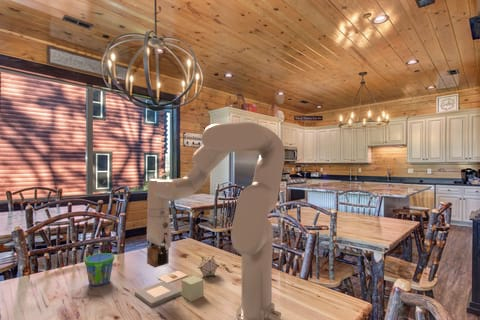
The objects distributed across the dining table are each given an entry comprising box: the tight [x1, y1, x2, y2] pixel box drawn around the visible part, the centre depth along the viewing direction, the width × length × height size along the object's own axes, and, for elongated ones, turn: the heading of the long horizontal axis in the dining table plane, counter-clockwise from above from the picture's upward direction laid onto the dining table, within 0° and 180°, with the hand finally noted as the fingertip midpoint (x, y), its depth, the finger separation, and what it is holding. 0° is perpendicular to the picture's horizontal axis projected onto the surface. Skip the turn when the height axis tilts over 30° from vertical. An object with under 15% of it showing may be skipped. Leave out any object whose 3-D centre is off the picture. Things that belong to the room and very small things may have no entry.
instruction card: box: [157, 270, 189, 284], centre depth 115 cm, size 7×10×1 cm
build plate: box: [134, 281, 182, 308], centre depth 100 cm, size 12×12×1 cm
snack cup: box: [84, 252, 115, 287], centre depth 110 cm, size 16×10×10 cm
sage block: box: [181, 274, 205, 302], centre depth 99 cm, size 6×6×6 cm
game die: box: [197, 255, 220, 279], centre depth 116 cm, size 9×8×10 cm
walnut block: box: [146, 245, 170, 268], centre depth 100 cm, size 6×6×6 cm
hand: (157, 261), depth 100 cm, fingers closed on walnut block, 5 cm apart
